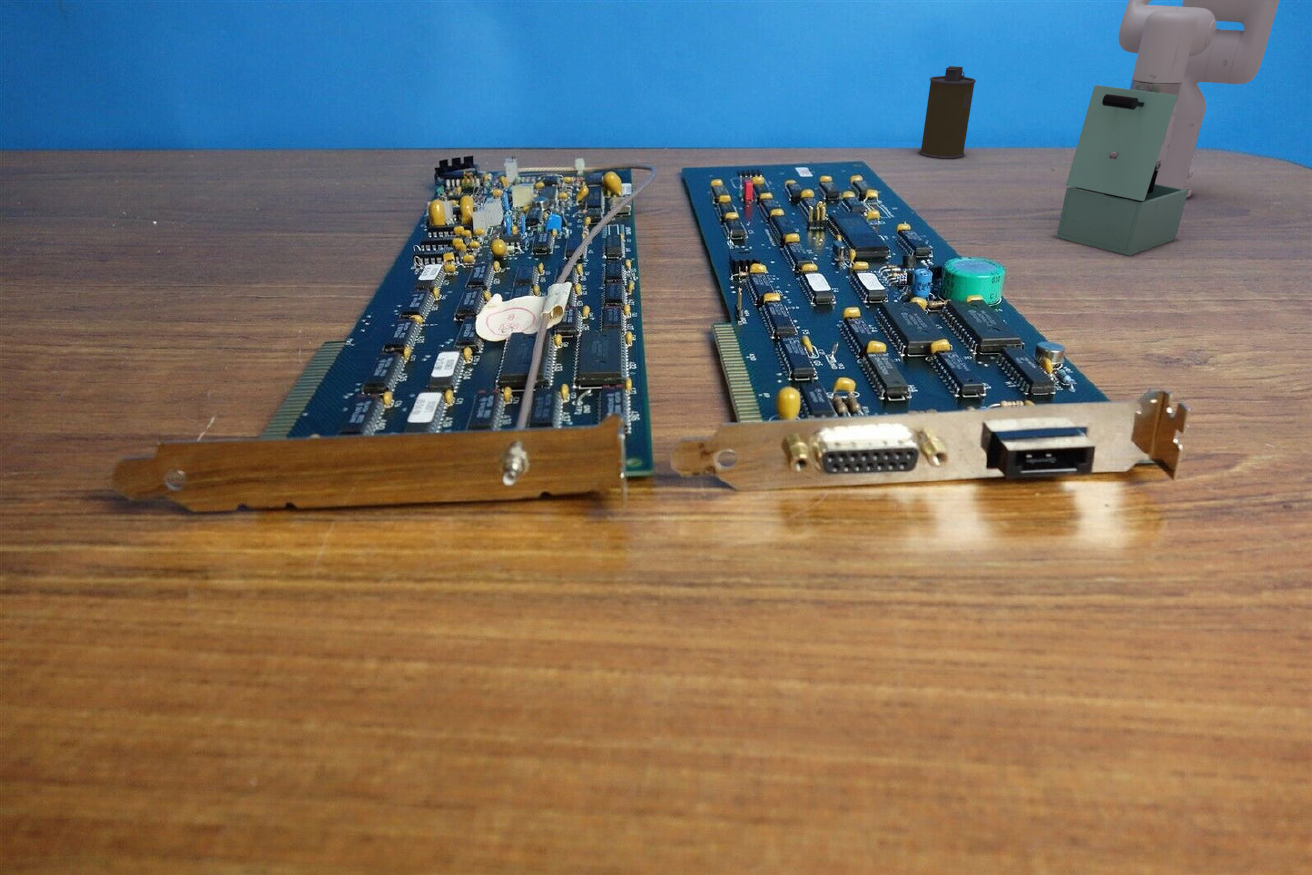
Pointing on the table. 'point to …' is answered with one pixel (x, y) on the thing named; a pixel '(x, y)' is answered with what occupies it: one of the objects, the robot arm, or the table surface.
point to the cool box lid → (1121, 141)
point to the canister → (947, 114)
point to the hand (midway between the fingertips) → (1128, 196)
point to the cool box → (1121, 219)
